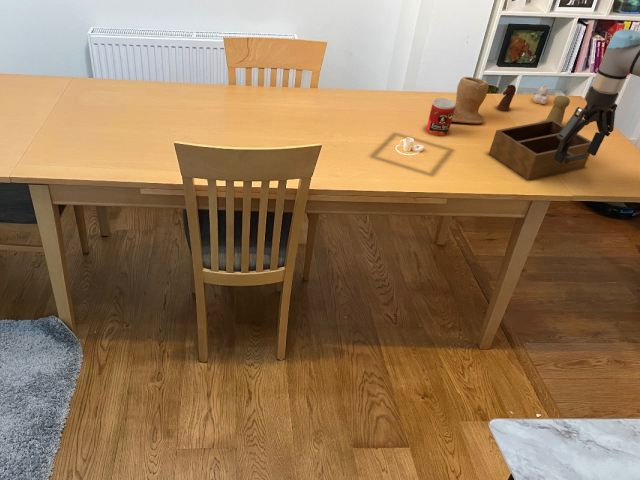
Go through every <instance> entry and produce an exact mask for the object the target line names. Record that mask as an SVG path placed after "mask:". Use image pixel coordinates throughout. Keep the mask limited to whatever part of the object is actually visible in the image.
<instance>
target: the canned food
mask: <svg viewBox="0 0 640 480" xmlns="http://www.w3.org/2000/svg"><path fill="white" fill-rule="evenodd" d="M455 105H456V101H454V100H452V99H449V98H445V97H439V98H438V97H437V98H435V99H433V101H432V104H431V108H430V112H429V116H428V120H427V125H426V132H427V133H428V134H429V135H432V136H435V137H444V136H447V135H448V134H449V131H450V128H451V124H452V122H451V121H452V117H453V113H454V110H455Z"/></svg>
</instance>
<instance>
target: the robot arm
mask: <svg viewBox="0 0 640 480" xmlns="http://www.w3.org/2000/svg"><path fill="white" fill-rule="evenodd" d="M596 71H597V72H596V74H595V76H594V78H593V81H592V83H591V86H590V87H589V88H588V92H587V94H586V96H585V101H586V105H585V106H584V107H583V108H582V107H580V106H578V107H576V108H575V110H574V112H573V113H572V115H571V117H570V118H569V120H568V121H567V122H566V124H564V125H563V126H564V127H563V129H562V130H561V131H560V133H559V134H558V135H557V137H556V138H557V139H559V140H560V144H559V146H558V148H557V152H556V155H555V157H554V160H556V161H558V162H559V163H562V162H563V160H564V157H565V155H566V153H567V151H568V148H569V146H570V144H571V143H570V142H569V141H570V140H571V139H572V138H573V137H574V136H575V135H576V134H579V132H580V131H581V130H582V129H583V128H584V127H586V126H588V125H589V124H590V123H594V122H595V123H596V126H597V127H596V128H597V131H596V132H595V133H594V134H593V138H592V139H591V141H592V142H591V144H590V146H589V148H588V150H587V152H588V153H589V154H590V155H591V156H593V157H596V155H597V153H598V152H599V149H600V147H601V144H602V143H603V141H604V139H605V137H609V136H610V135H611V133H612V132H614V129H615V118H616V111H617V108H618V104H617V103H616V102H617V99H618V97H619V93H620V92H621V91H622V89H623V86H624V84H625V82H626V80H627V78H628V76H629V74H630V75H633V76H635V77H639V78H640V32H639V31H637V30H633V29H625V28H624V29H619V30H616V31H615V32H614V33H613V35H612V36H611V39H610V41H609V43H608V45H607V46H606V49H605V52H604V53H603V56H602V59H601V62H600V65H599V67H598V68H597V70H596Z"/></svg>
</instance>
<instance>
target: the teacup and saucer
mask: <svg viewBox="0 0 640 480" xmlns="http://www.w3.org/2000/svg"><path fill="white" fill-rule="evenodd" d="M402 141H403V143H402ZM414 143H415V139H414V138H413V137H405V138H404V139H400V142H399V144H396V146H394V148H395V151H396V152H397V153H399V154H402V155H405V156H415V155H417V154H420V153H421V152H423V151H424V146H423V145H422V144H414ZM400 146H401V148H402V149H403V151H405V152H410V151H411V150H412V151H413V152H415V153H404V152H401V151H400V150H398V147H400Z"/></svg>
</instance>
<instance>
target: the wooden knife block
mask: <svg viewBox="0 0 640 480" xmlns="http://www.w3.org/2000/svg"><path fill="white" fill-rule="evenodd" d="M564 126H565V125H564V124H562V125H561V124H559V123H557V122H556V121H554V120H548V121H546V120H543V121H537V122H533V123H528V124H522V125H517V126H512V127H507V128H500V129H496V130H495V133H494V136H493V139H492V142H491V145H490V149H489V152H488V155H489V156H490V157H492V158H493V159H495V160H496V161H498V162H499V163H501V164H502V165H503V166H505V167H507V168H508V169H509V170H511V171H512V172H514V173H516V174H517V175H518V176H520V177H521V178H523V179H524V180H525V181H531V180H534V179H535V180H536V179H540V178H544V177H548V176H554V175H556V174H557V175H558V174H561V173H566V172H571V171H574V170H579V169H583V168H585V167H586V164H587V162H588V159H589V157H590V155H591V154H589V153H588V152H587V150H588V148H589V146H590V144H591V142H592V140H589V139H588V138H586V137H584V136H583V135H580V134H579V133H577V134H576V135H575V136H574V137H573V138H572V139H571V140H570V141H569V142H570V143H571V144H570V146H569V148H568V151H567V153H566V155H565V157H564V160H563V162H562V163H559V162H558V161H556V160H554V157H555V155H556V152H557V148H558V146H559V144H560V140H559V139H557V138H556V137H557V135H558V134H559V133H560V131H561V130H562V129H563V127H564Z"/></svg>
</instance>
